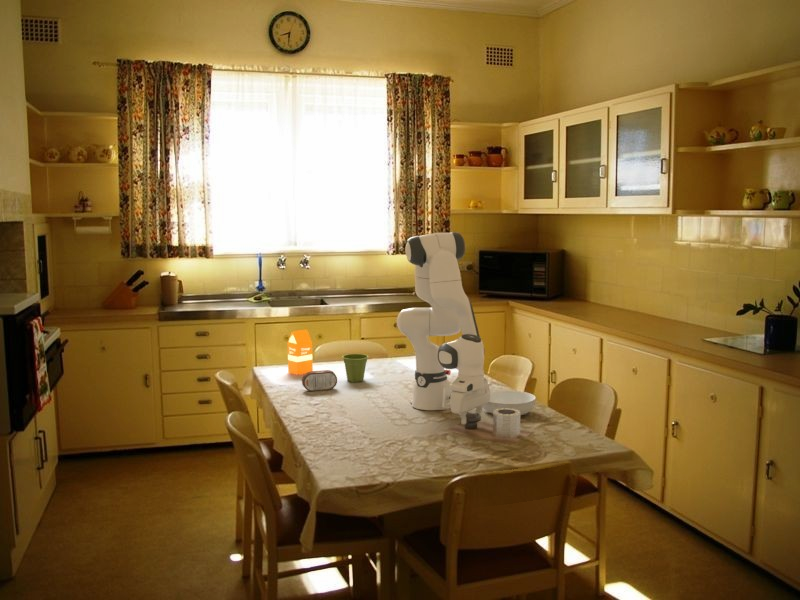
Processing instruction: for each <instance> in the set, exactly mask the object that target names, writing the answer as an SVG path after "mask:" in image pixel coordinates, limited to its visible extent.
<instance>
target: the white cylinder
mask: <svg viewBox="0 0 800 600" xmlns="http://www.w3.org/2000/svg"><path fill="white" fill-rule="evenodd" d="M492 424H493V436H495V437H496V438H501V439H515V438H518V437H520V430H521V415H520V411H519V410H517V409H511V408H500V409H495V410H493V414H492Z"/></svg>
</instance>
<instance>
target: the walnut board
mask: <svg viewBox="0 0 800 600" xmlns="http://www.w3.org/2000/svg"><path fill="white" fill-rule="evenodd" d="M444 431H446V432H449V433H450V432H451V433H455V434H459V435H464V436H469V437H473V438H478V439H483V440H487V441H492V442H496V443H501V444H505V445H513V444H514V443H516V442H518V441H521V440H522V439H524V438H526V437H528V436H530V435H532V434H534V432H533V431H528V430H525V429H520V437H518V438H515V439H501V438H496V437H495V436H493V423H489V422H485V421H478V422H477V429H474V430H469V429H465V424H462V423H461V422H459V423H457V424H455V425H452V426H451V427H448V428H446V429H444Z"/></svg>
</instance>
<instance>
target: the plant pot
mask: <svg viewBox="0 0 800 600" xmlns="http://www.w3.org/2000/svg"><path fill="white" fill-rule="evenodd" d="M341 357H342V359H343V363H344V367H345V374H346V379H347V381H348V382H350V381H351V382H350V383H359V382H361V381H362V382H363V381H364V380H365V373H366V372H365V371H366V366H367V363H368V358H369V357H370V356H369V355H367V354H365V353H350V354H349V353H348V354H344V355H342V356H341Z"/></svg>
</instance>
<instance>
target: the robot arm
mask: <svg viewBox="0 0 800 600" xmlns="http://www.w3.org/2000/svg"><path fill="white" fill-rule="evenodd" d="M404 251H405V256H406V258H407V260H408V262H409V263H410V264H412V265H414V279H415V280H414V287H415V288H414V291H415V292H414V293H415V294H416V297H418V298H419V299H420V300H422V301H424V302H426V303H428V304H429V306H430V307H409V308H405V309H401V311H400V312H399V313H398V314H397V317H396V326H397V329H398V331H399V332H400V333H401V334H402V335H404V336H405V337H406V338H407V339H408V340H409V342H410V343H411V345H412V347H413V350H414V353H415V354H414V356H415V371H414V380H415V382H413V389H412V399H411V400H410V403H411V407H413V408H415V409H417V410H422V411H442V410H444V411H447V410H449V409H450V411H451V413H452V414H456V415H459V417H460V419H461V421H460V423H462V424H467V423H468V418H466V412H469V411H471V410H474V409H475V412H474V414H477V415H480V416H481V415H482V411H483V409H484V408H483V405H484V404H487V403H489V401H490V392H491V391H490V390H491V389H490V384H489V381H488V379H487V377H485V371H484V363H485V355H486V351H485V347H484V342H483V340H482V338H481V336H480V333H479V328H478V324H477V320H476V315H475V312H474V308H473V305H472V301H471V299H470V298H469V296H468V295H467V294H466V293H465V291H464V288H463V284H462V283H463V282H462V280H461V279H462V278H461V277H462V276H461V271H460V267H459V262H458V261H459V260H461V259H462V258H463V257H464V255H466V243H465V239H464V237H463V235H462V234H461V233H460V232H455V231H450V232H433V233H428V234H427V233H426V234H423V235H419V236H418V235H415V236H411V237H409V238H408V239H407V241H406V243H405V248H404ZM460 332H461V335H460V336H459V338H457V339H454V340H451V341H447V342H444V343H442V344H440V346H439V345H437V344H435V343H433V342H431V340H430V339H429V337H435V336H436V337H439V336H440V337H448V336H453V335H458V334H459V333H460ZM455 369H456V370H457V371H458V374H457V375H458V376H457V377H456V378H455V380H453V381H450V380H449V379H448V376H450V375H451V373H452V370H455ZM447 375H448V376H447ZM481 417H482V416H481Z"/></svg>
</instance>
